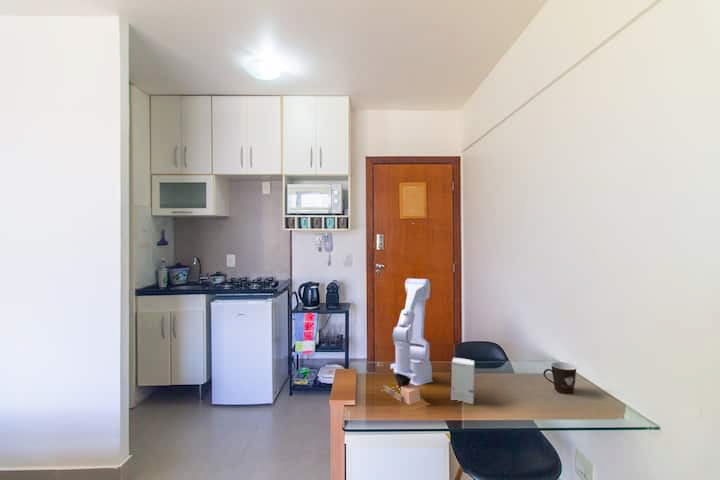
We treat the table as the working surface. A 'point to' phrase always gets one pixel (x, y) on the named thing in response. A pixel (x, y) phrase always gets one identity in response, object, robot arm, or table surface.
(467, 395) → the skincare box
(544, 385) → the table surface
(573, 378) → the coffee mug
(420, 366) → the robot arm
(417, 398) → the block
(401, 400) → the chute
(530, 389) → the table surface
